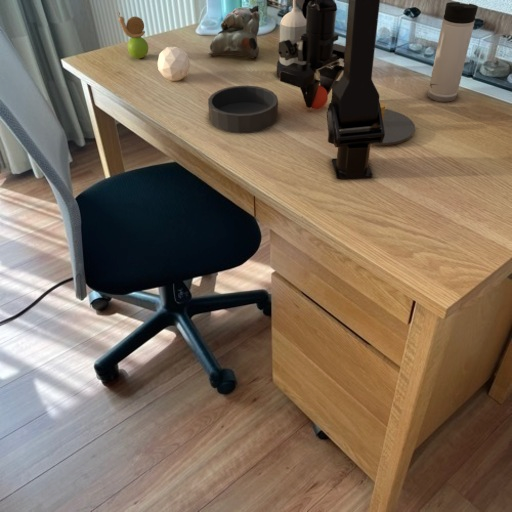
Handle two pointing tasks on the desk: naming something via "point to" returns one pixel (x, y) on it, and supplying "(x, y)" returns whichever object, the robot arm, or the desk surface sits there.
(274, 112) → the black round open container
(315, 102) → the ball
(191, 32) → the desk surface
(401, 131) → the flat gray disc
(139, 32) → the snail figurine
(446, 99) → the travel mug
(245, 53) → the lucky cat figurine
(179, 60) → the geometric ball
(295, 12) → the humidifier
